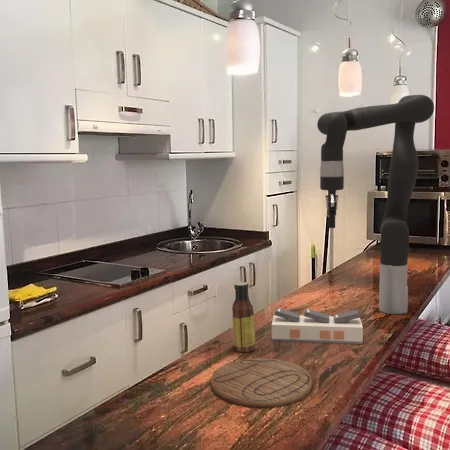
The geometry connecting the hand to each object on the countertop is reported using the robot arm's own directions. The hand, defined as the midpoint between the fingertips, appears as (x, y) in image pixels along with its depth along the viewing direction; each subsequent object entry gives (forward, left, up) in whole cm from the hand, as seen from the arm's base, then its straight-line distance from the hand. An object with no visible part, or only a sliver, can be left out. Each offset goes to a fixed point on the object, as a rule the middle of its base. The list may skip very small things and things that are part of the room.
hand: (331, 227), depth 171 cm
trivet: (+19, +50, -32) cm, 63 cm away
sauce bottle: (+26, +28, -32) cm, 50 cm away
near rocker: (-4, +15, -26) cm, 31 cm away
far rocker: (+14, +15, -26) cm, 33 cm away
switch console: (+5, +15, -32) cm, 36 cm away
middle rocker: (+5, +15, -26) cm, 31 cm away
